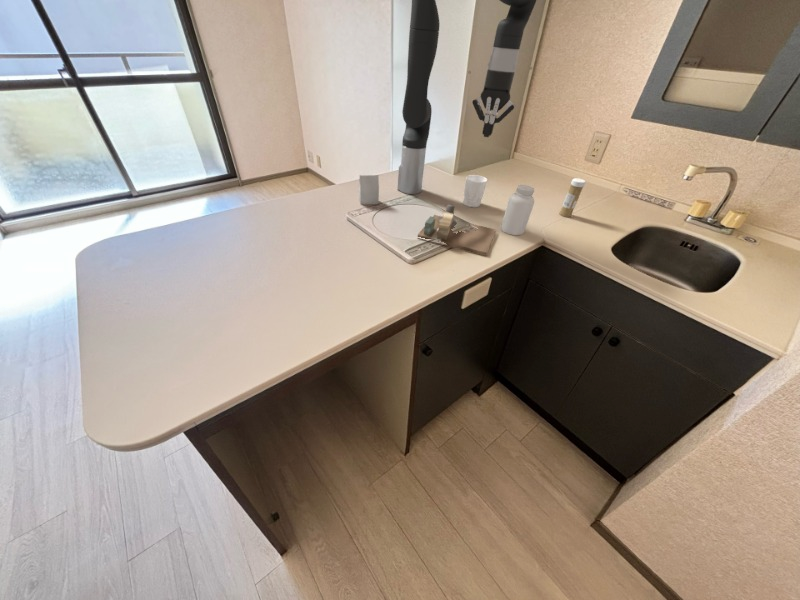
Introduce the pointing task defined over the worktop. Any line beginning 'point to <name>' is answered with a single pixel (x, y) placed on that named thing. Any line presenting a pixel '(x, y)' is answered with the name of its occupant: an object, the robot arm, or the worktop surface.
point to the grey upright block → (369, 189)
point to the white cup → (474, 190)
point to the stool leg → (446, 223)
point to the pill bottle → (518, 210)
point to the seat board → (460, 236)
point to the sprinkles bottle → (572, 197)
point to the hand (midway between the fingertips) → (486, 136)
